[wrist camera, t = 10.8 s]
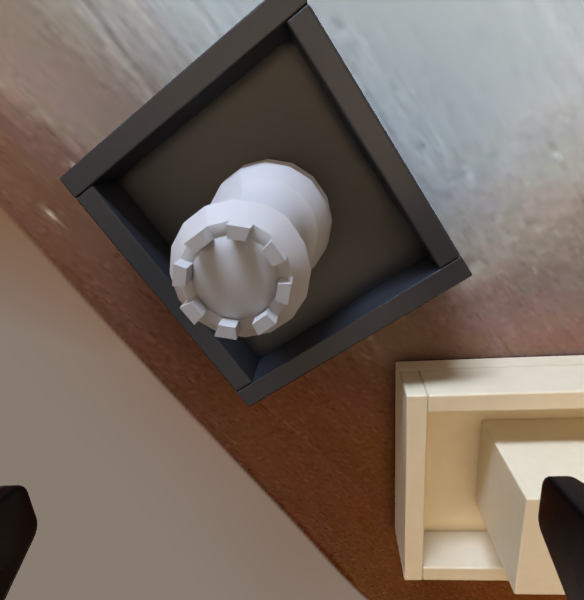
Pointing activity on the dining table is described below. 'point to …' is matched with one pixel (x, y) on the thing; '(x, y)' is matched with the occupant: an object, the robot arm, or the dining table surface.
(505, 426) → the cream block
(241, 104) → the charcoal tray
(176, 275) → the rook chess piece
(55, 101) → the dining table surface
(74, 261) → the dining table surface
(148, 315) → the dining table surface
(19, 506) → the robot arm
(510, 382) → the cream tray
